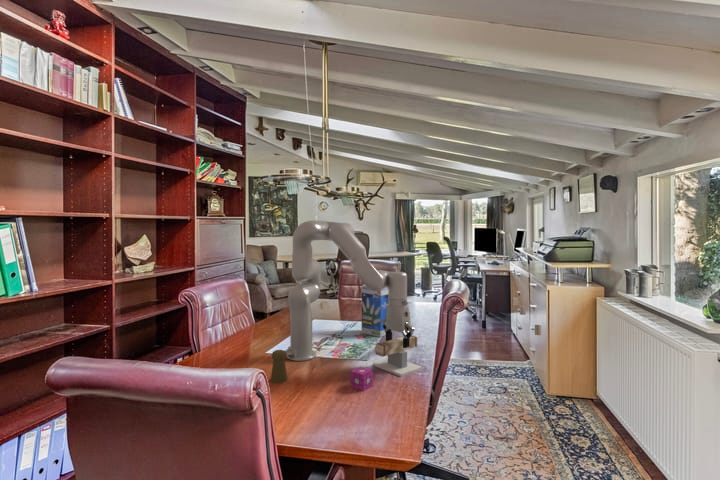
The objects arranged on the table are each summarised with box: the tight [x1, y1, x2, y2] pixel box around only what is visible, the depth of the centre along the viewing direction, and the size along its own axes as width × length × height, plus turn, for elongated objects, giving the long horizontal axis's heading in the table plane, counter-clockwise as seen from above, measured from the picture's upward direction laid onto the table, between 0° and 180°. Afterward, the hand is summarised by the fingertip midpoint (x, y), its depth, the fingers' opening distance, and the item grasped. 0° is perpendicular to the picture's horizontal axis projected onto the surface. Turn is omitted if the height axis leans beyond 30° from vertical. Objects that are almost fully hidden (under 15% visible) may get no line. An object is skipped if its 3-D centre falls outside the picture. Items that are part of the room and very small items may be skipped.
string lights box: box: [361, 284, 388, 338], centre depth 205 cm, size 13×8×26 cm, turn 49°
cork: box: [270, 349, 288, 384], centre depth 143 cm, size 6×6×11 cm
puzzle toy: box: [350, 366, 374, 392], centre depth 138 cm, size 6×6×6 cm
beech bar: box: [374, 334, 418, 358], centre depth 156 cm, size 20×4×4 cm, turn 130°
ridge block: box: [372, 350, 423, 377], centre depth 156 cm, size 12×16×7 cm
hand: (397, 344), depth 156 cm, fingers open, 9 cm apart
